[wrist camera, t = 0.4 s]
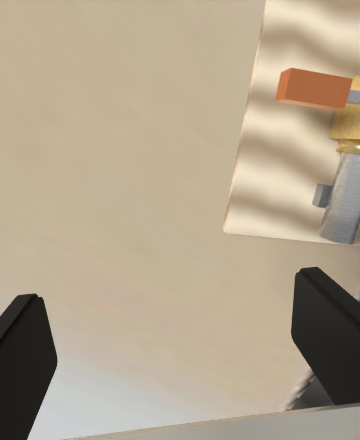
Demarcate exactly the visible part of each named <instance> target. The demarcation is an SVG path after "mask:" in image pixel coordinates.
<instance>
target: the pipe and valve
mask: <svg viewBox="0 0 360 440" xmlns="http://www.w3.org/2000/svg"><path fill="white" fill-rule="evenodd" d="M351 78H352V79H353V81H352V85H351V88H350V90H356V91H360V69H359V72H358V76H354V77H351ZM329 138H333V139H339V142H338V146H337V149H336V152H340V153H342V154H341V157H340V161H339V164H338V168H337V171H336V174H335V178H334V181H333V185H327V184H320V183H317V187H316V191H315V194H314V198H313V201H312V205H314V206H316V207H320V208H326V209H325V212H324V215H323V219H322V222H321V226H320V229H319V233H318V235H319V236H320V237H322V238H324V239H327V240H329V241H332V242H336V243H341V244H348V245H352V244H354V243H355V240H356V237H357V234H358V231H359V228H360V105H354V104H348V103H346V106H345V109H339V110H336V113H335V117H334V120H333V124H332V128H331V131H330V135H329Z"/></svg>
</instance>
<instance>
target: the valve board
mask: <svg viewBox="0 0 360 440" xmlns="http://www.w3.org/2000/svg"><path fill="white" fill-rule="evenodd" d="M289 68H296V69H302V70H307V71H313V72H319V73H324V74H330V75H335V76H341V77H346V78H351V77H354V76H358V72H359V69H360V0H266V5H265V11H264V16H263V21H262V26H261V32H260V37H259V42H258V47H257V53H256V58H255V63H254V68H253V74H252V79H251V84H250V90H249V95H248V100H247V105H246V111H245V116H244V121H243V126H242V132H241V137H240V142H239V147H238V153H237V158H236V163H235V169H234V174H233V179H232V184H231V190H230V195H229V200H228V205H227V211H226V216H225V221H224V226H223V230H224V232H225V233H232V234H242V235H252V236H261V237H271V238H281V239H291V240H300V241H310V242H320V243H330V244H340V245H348V244H341V243H336V242H332V241H329V240H327V239H324V238H322V237H320V236H319V235H318V233H319V229H320V226H321V222H322V219H323V215H324V212H325V209H326V208H320V207H316V206H314V205H312V201H313V198H314V194H315V191H316V187H317V183H320V184H327V185H333V181H334V178H335V174H336V171H337V168H338V164H339V161H340V157H341V154H342V153H340V152H336V149H337V146H338V142H339V139H333V138H329V135H330V131H331V128H332V124H333V120H334V117H335V113H336V110H325V109H319V108H313V107H307V106H301V105H294V104H288V103H282V102H276V101H275V97H276V93H277V88H278V83H279V79H280V74H281V72H283V71H285V70H287V69H289ZM349 246H359V247H360V228H359V231H358V234H357V237H356V240H355V243H354V244H352V245H349Z"/></svg>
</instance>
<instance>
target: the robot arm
mask: <svg viewBox="0 0 360 440" xmlns="http://www.w3.org/2000/svg"><path fill="white" fill-rule="evenodd" d="M291 335H292V339H293V341H294V343H295V344H296V346H297V347H298V349H299V351H300V352H301V354H302V355H303V357H304V358H305V360H306V361H307V363H308V364H309V366H310V367H311V369H312V370H313V372H314V374H315V375H316V377H317V378H318V380H319V381H320V383H321V384H322V386H323V387H324V389H325V390H326V392H327V393H328V395H329V396H330V398H331V400H332V401H333V403H334V404H335V406H326V407H317V408H309V409H301V410H292V411H284V412H276V413H267V414H259V415H251V416H242V417H234V418H226V419H218V420H210V421H202V422H194V423H186V424H179V425H171V426H163V427H155V428H147V429H139V430H132V431H124V432H117V433H109V434H102V435H94V436H87V437H79V438H71V439H64V440H360V303H359V302H358V301H357V300H356V299H355V298H354V297H352V296H351V295H350V294H349V293H348V292H347V291H345V290H344V289H343V288H342V287H341V286H340V285H338V284H337V283H336V282H335V281H334V280H332V279H331V278H330V277H329V276H328V275H327V274H325V273H324V272H323V271H322V270H321V269H320V268H318V267H310V268H302V269H300V271H299V272H298V273H296V275H295V287H294V300H293V313H292V327H291ZM56 367H57V354H56V350H55V346H54V342H53V337H52V333H51V329H50V325H49V321H48V316H47V312H46V308H45V304H44V300H43V298H42V297H38V295H37V294H25V295H18V296H17V297H16V298H15V299H14V300H13V301H12V303H11V304H10V305H9V306H8V308H7V309H6V310H5V311H4V312H3V314H2V315H1V316H0V440H27V438H28V436H29V433H30V431H31V428H32V426H33V424H34V421H35V419H36V416H37V414H38V411H39V409H40V406H41V404H42V402H43V399H44V397H45V394H46V392H47V389H48V387H49V384H50V382H51V380H52V377H53V375H54V372H55V370H56Z"/></svg>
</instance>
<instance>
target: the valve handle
mask: <svg viewBox="0 0 360 440" xmlns="http://www.w3.org/2000/svg"><path fill="white" fill-rule="evenodd" d="M352 81H353V79H352V78H346V77H341V76H335V75H330V74H324V73H319V72H313V71H307V70H302V69H296V68H289V69H287V70H285V71H283V72H281V74H280V79H279V83H278V88H277V93H276V97H275V101H276V102H282V103H288V104H294V105H301V106H307V107H313V108H319V109H325V110H339V109H345V106H346V103H348V104H354V105H360V91H356V90H350V88H351V85H352Z"/></svg>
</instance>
